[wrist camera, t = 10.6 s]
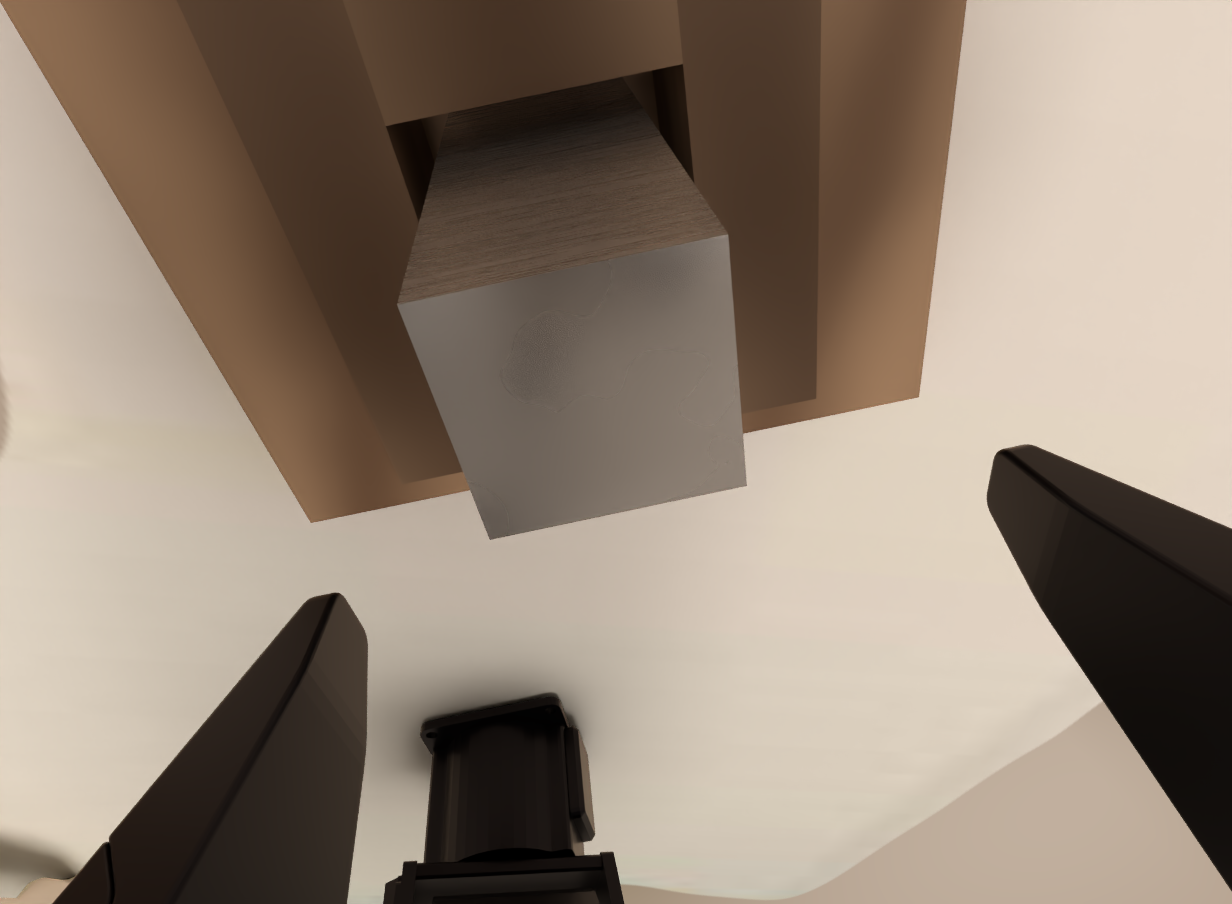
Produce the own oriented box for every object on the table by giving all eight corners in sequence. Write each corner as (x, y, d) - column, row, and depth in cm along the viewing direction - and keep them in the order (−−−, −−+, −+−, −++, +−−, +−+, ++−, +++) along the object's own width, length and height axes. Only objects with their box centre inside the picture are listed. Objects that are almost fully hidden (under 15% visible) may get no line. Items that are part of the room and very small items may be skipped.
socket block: (320, 492, 24) (280, 620, 20) (-86, -226, 13) (-371, -287, 9) (898, 373, 24) (984, 475, 20) (978, -450, 13) (1209, -622, 9)
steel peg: (496, 272, 19) (490, 539, 11) (449, 111, 16) (396, 304, 8) (644, 241, 19) (746, 485, 11) (620, 74, 16) (727, 234, 8)
